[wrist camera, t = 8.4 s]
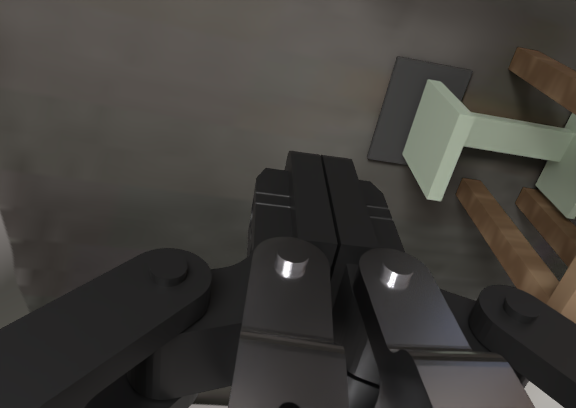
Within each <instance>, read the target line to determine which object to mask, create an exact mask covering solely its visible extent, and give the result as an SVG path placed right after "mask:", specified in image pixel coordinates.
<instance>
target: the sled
mask: <svg viewBox="0 0 576 408" xmlns="http://www.w3.org/2000/svg"><path fill="white" fill-rule="evenodd" d="M463 146H465V147H471V148H477V149H483V150H489V151H495V152H501V153H508V154H514V155H520V156H526V157H532V158H538V159H544V160H548V161H547V163H546V165H545V167H544V169H543V171H542V173H541V175H540V177H539V179H538V181H537V183H536V186H537V187H538V188H539V190H540V191H541V192H542V193H543V194H544V195H545V196H546V197H547V198H548V199H549V200H550V201H551V202H552V203H553V204H554V205H555V206H556V207H557V208H558V209H559V210H560V211H561V212H562V214H563V215H564V216H565V217H566V218H570V219H575V217H576V115H575V114H573V113H572V114H571V116H570V118H569V120H568V122H567V124H566V126H565V128H560V127H554V126H548V125H543V124H537V123H531V122H526V121H520V120H514V119H508V118H503V117H497V116H491V115H485V114H480V113H474V112H470V111H469V110H468V109H467V108H466V106H465V105H464V104H463V103H462V102H461V101H460V100H459V99H458V98H457V97H456V96H455V95H454V94H453V93H452V92H451V91H450V90H449V89H448V88H447V87H446V86H445V85H444V84H443V83H442V82H441V81H435V80H430V79H428V80H427V83H426V86H425V89H424V92H423V95H422V98H421V101H420V103H419V106H418V109H417V112H416V115H415V118H414V121H413V124H412V127H411V130H410V133H409V136H408V139H407V142H406V145H405V148H404V151H403V154H402V155H403V157H404V158H405V160H406V162H407V164H408V166H409V168H410V169H411V171H412V173H413V175H414V177H415V179H416V180H417V182H418V184H419V186H420V188H421V190H422V191H423V193H424V195H425V197H426V199H429V200H435V201H441V200H442V198H443V195H444V193H445V190H446V188H447V186H448V183H449V181H450V178H451V176H452V173H453V171H454V168H455V166H456V163H457V161H458V158H459V156H460V153H461V151H462V149H463Z"/></svg>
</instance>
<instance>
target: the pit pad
mask: <svg viewBox="0 0 576 408" xmlns="http://www.w3.org/2000/svg"><path fill="white" fill-rule="evenodd" d="M472 72H473V71H471V70H468V69H463V68H457V67H452V66H447V65H441V64H436V63H431V62H425V61H420V60H414V59H409V58H404V57H398V56H397V58H396V62H395V65H394V68H393V72H392V75H391V78H390V82H389V85H388V88H387V92H386V95H385V98H384V102H383V105H382V108H381V112H380V115H379V118H378V122H377V125H376V128H375V132H374V135H373V138H372V142H371V145H370V148H369V152H368V155H367V158H368V159H372V160H379V161H385V162H392V163H398V164H404V165H408V164H407V162H406V160H405V158H404V157H403V155H402V154H403V151H404V148H405V145H406V142H407V139H408V136H409V133H410V130H411V127H412V124H413V121H414V118H415V115H416V112H417V109H418V106H419V103H420V101H421V98H422V95H423V92H424V89H425V86H426V83H427V80H428V79H430V80H435V81H441V82H442V83H443V84H444V85H445V86H446V87H447V88H448V89H449V90H450V91H451V92H452V93H453V94H454V95H455V96H456V97H457V98H458V99H459V100H460V101H462V98H463V95H464V93H465V90H466V88H467V85H468V82H469V80H470V77H471V75H472Z"/></svg>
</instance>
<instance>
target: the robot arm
mask: <svg viewBox="0 0 576 408" xmlns="http://www.w3.org/2000/svg"><path fill="white" fill-rule="evenodd" d="M529 381H530V382H532V383H533V384H534V385H536V386H537V387H538V388H540V389H541V390H542V391H543V392H545V393H546V394H547V395H549V396H550V397H551V398H553V399H554V400H555V401H557V402H558V403H559V404H560V405H562V406H563V407H564V408H576V323H574V322H573V321H571V320H569V319H568V318H566V317H565V316H563V315H562V314H560V313H559V312H557V311H556V310H554V309H553V308H551V307H550V306H548V305H547V304H545V303H544V302H542V301H541V300H539V299H537V298H536V297H534V296H533V295H531V294H529V293H527V292H525V291H523V290H520V289H517V288H514V287H511V286H505V285H492V286H488V287H486V288H484V289H483V290H482V291H481V293H480V295H479V297H478V299H477V301H474V300H471V299H468V298H465V297H462V296H459V295H456V294H453V293H450V292H447V291H445V290H442V289H440V288H439V287H438V285H437V283H436V281H435V280H434V278H433V276H432V274H431V272H430V271H429V269H428V268H427V267H426V266H425V265H424V264H423V263H422V262H421V261H419V260H418V259H416V258H415V257H413V256H411V255H409V254H407V253H405V251H404V248H403V245H402V243H401V240H400V237H399V235H398V232H397V230H396V227H395V224H394V222H393V221H392V216H391V214H390V211H389V210H388V206H387V203H386V200H385V198H384V195H383V193H382V192H381V191H379V190H378V189H377V188H376V187H375V186H374V185H373V184H372V183H371V182H370V181H362V180H358V177H357V174H356V170H355V167H354V164H353V161H352V159H348V158H341V157H333V156H326V155H321V156H320V155H318V154H310V153H303V152H295V151H289V153H288V156H287V161H286V166H285V170H277V169H270V168H265V169H264V170H263V172H262V173H261V174H260V175H259V176H258V177H257V178H256V184H255V191H254V198H253V204H252V211H251V217H250V224H249V230H248V248H247V258H246V259H244V260H243V261H241V262H240V263H237V264H235V265H232V266H229V267H225V268H219V269H211V270H210V268H209V266H208V264H207V263H206V262H205V261H204V260H203V259H201V258H200V257H199V256H197V255H195V254H193V253H191V252H188V251H185V250H181V249H174V248H163V249H155V250H151V251H148V252H145V253H142V254H140V255H138V256H136V257H134V258H133V259H131V260H129V261H127V262H125V263H123V264H121V265H119V266H118V267H116V268H114V269H112V270H110V271H108V272H106V273H104V274H103V275H101V276H99V277H97V278H95V279H93V280H91V281H89V282H88V283H86V284H84V285H82V286H80V287H78V288H76V289H74V290H72V291H71V292H69V293H67V294H65V295H63V296H61V297H59V298H57V299H56V300H54V301H52V302H50V303H48V304H46V305H44V306H42V307H41V308H39V309H37V310H35V311H33V312H31V313H29V314H28V315H25V316H24V317H22V318H20V319H18V320H16V321H14V322H12V323H10V324H9V325H7V326H5V327H3V328H1V329H0V408H188V407H189V406H190V405H191V404H192V403H193V402H194V400H195V399H196V397H197V395H198V393H201V392H205V391H210V390H214V389H219V388H223V387H227V386H231V392H230V398H229V405H228V408H535V407H534V405H533V403H532V402H531V400H530V398H529V396H528V395H527V393H526V391H525V390H524V388H525V386H526V384H527V383H528V382H529Z"/></svg>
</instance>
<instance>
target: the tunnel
mask: <svg viewBox="0 0 576 408" xmlns="http://www.w3.org/2000/svg"><path fill="white" fill-rule="evenodd" d="M508 69H509V70H510V71H512V72H513V73H515V74H516V75H518V76H519V77H521V78H522V79H524V80H525V81H527V82H528V83H529V84H531V85H532V86H534V87H535V88H537V89H538V90H540V91H541V92H543V93H544V94H546V95H547V96H549V97H550V98H551V99H553V100H554V101H556V102H557V103H559V104H560V105H562V106H563V107H565V108H566V109H568V110H569V111H571V112H572V113H573V114H575V115H576V71H574V70H572V69H571V68H569V67H567V66H565V65H563V64H561V63H559V62H558V61H556V60H554V59H552V58H550V57H548V56H547V55H545V54H543V53H541V52H539V51H536V50H531V49H526V48H520V47H517V49H516V52H515V54H514V56H513V59H512V61H511V63H510V66H509V68H508ZM456 196H457V197H458V199H459V201H460V202H461V204H462V205H463V207H464V208H465V210H466V211H467V213H468V214H469V216H470V217H471V219H472V220H473V222H474V223H475V225H476V227H477V228H478V230H479V231H480V233H481V234H482V236H483V237H484V239H485V240H486V242H487V243H488V245H489V246H490V248H491V250H492V251H493V253H494V254H495V256H496V257H497V259H498V260H499V262H500V263H501V265H502V266H503V268H504V269H505V271H506V272H507V274H508V276H509V277H510V279H511V280H512V282H513V283H514V285H515V286H516V288H517V289H520V290H523V291H525V292H527V293H529V294H531V295H533V296H534V297H536V298H537V299H539V300H541V301H542V302H544V303H545V304H547V305H548V306H550V307H551V308H553V309H554V310H556V311H557V312H559V313H560V314H562V315H563V316H565V317H566V318H568V319H569V320H571V321H573V322H574V323H576V226H575V225H574V224H573V223H572V222H571V221H570V220H569V219H568V218H566V217H565V216H564V215H563V214H562V212H561V211H560V210H559V209H558V208H557V207H556V206H555V205H554V204H553V203H552V202H551V201H550V200H549V199H548V198H547V197H546V196H545V195H544V194H543V193H542V192H541V191H540V190H538V189H531V188H525V187H523V188H522V190H521V192H520V194H519V196H518V198H517V200H516V202H515V204H516V205H517V206H518V208H519V209H520V210H521V211H522V212H523V214H524V215H525V216H526V217H527V218H528V220H529V221H530V222H531V223H532V224H533V226H534V227H535V228H536V229H537V230H538V232H539V233H540V234H541V235H542V236H543V238H544V239H545V240H546V241H547V242H548V244H549V245H550V246H551V247H552V248H553V250H554V251H555V252H556V253H557V254H558V256H559V257H560V258H561V259H562V260H563V262H564V263H565V264H566V265H567V266H568V269H567V271H566V273H565V274H564V276H563V277H562V279H561V281H560V282H559V281H558V280H557V278H556V277H555V276H554V274H553V273H552V272H551V271H550V269H549V268H548V267H547V265H546V264H545V263H544V262H543V260H542V259H541V258H540V256H539V255H538V254H537V253H536V251H535V250H534V249H533V247H532V246H531V245H530V244H529V242H528V241H527V240H526V238H525V237H524V236H523V235H522V233H521V232H520V231H519V229H518V228H517V227H516V226H515V224H514V223H513V222H512V220H511V219H510V218H509V216H508V215H507V214H506V213H505V211H504V210H503V209H502V207H501V206H500V205H499V204H498V202H497V201H496V200H495V198H494V197H493V196H492V195H491V193H490V192H489V191H488V189H487V188H486V187H485V186H484V184H483V183H482V182H481V181H480V180H473V179H467V178H462V180H461V183H460V185H459V187H458V190H457V192H456Z"/></svg>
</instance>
